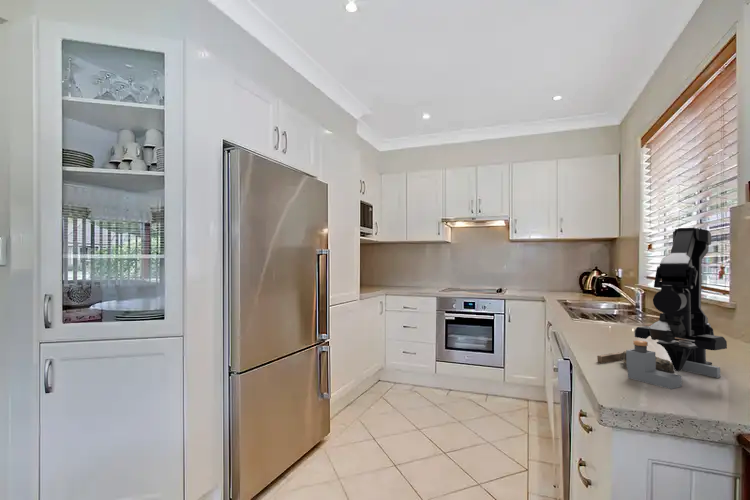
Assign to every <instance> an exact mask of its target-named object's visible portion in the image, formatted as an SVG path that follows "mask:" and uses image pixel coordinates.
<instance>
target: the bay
mask: <svg viewBox="0 0 750 500" xmlns="http://www.w3.org/2000/svg"><path fill="white" fill-rule="evenodd" d="M625 351H626V363H627V364H626V363H625V364H626V368H627V378H628V379H632V380H635V381H639V382H643V383H646V384H650V385H653V386H657V387H661V388H666V389H669V390H673V389H677V388H682V387H683V377H682V375H679V374H675V373H672V372H668V371H663V370H656V357H657V356H656V351H652V350H648V349H647V353H640V352H635V349H634V348H631V349H626V350H625ZM655 356H656V357H655ZM681 371H685V372H689V373H695V374H698V375H703V376H708V377H711V378H717V379H718V378H721V367H720V366H717V365H716V366H715V365H712V364H710V365H706V364H701V363H696V362H691V361H686V362H685V364H684V366H683V368H682V370H681Z"/></svg>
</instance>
